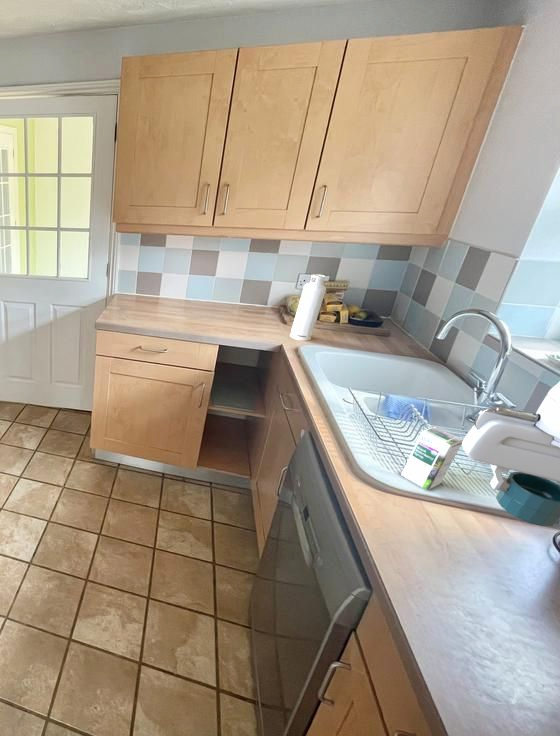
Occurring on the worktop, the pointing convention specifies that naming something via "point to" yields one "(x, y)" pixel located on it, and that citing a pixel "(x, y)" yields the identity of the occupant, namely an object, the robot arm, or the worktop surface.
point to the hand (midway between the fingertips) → (533, 498)
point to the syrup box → (431, 457)
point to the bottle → (308, 308)
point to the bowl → (532, 499)
